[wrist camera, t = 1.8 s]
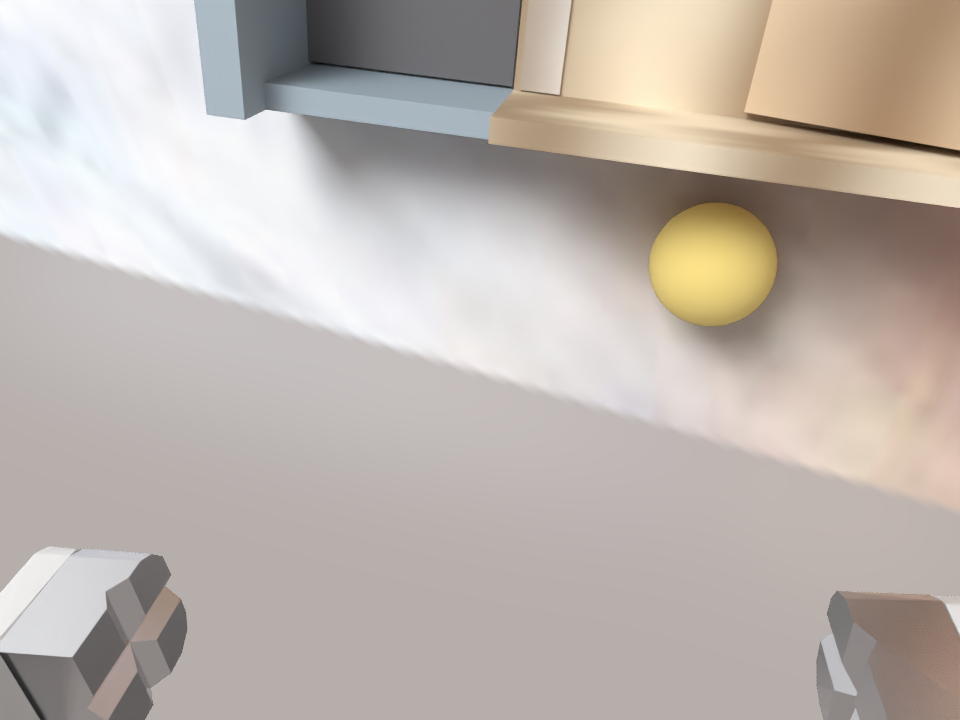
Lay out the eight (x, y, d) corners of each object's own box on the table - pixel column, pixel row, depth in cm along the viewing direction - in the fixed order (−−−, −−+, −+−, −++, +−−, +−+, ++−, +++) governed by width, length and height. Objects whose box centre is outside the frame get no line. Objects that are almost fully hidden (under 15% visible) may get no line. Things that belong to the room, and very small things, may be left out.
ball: (784, 195, 25) (803, 239, 21) (752, 302, 27) (765, 358, 24) (662, 178, 25) (662, 218, 22) (640, 285, 27) (636, 336, 24)
